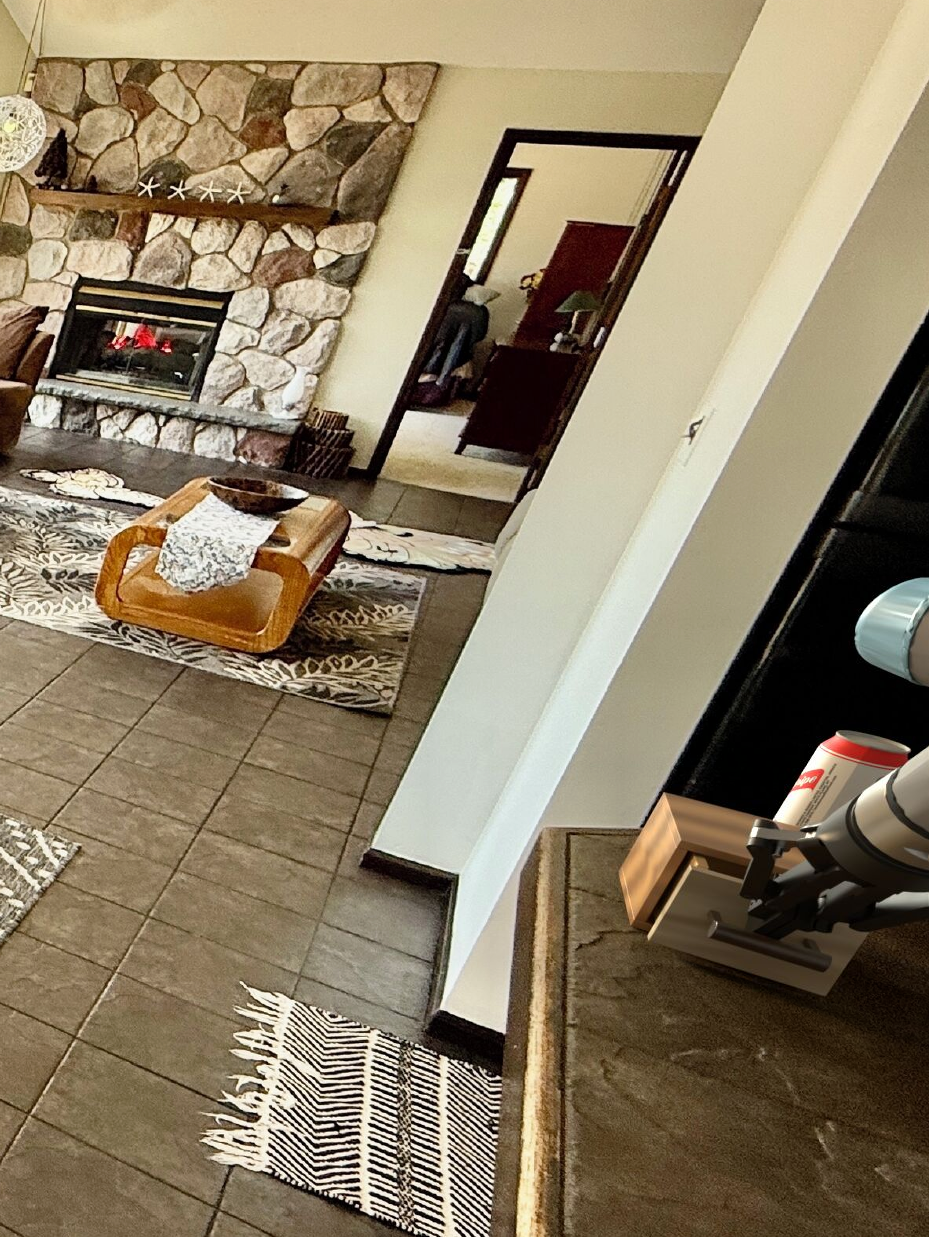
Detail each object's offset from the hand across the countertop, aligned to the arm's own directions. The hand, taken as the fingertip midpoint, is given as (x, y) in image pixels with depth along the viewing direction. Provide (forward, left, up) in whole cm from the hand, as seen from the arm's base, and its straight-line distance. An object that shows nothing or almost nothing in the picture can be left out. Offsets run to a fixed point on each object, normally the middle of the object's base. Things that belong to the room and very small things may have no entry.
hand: (759, 928), depth 103 cm
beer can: (-25, -27, -6) cm, 37 cm away
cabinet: (-7, -12, -6) cm, 15 cm away
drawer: (-3, -5, -5) cm, 7 cm away
